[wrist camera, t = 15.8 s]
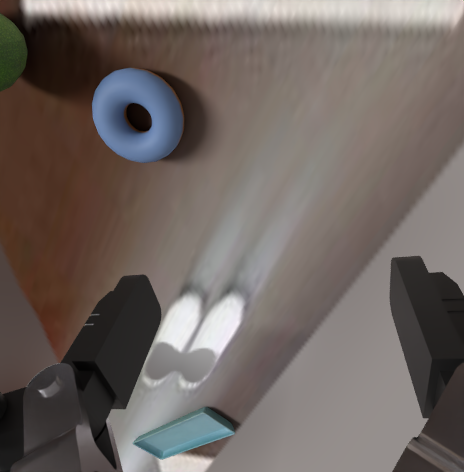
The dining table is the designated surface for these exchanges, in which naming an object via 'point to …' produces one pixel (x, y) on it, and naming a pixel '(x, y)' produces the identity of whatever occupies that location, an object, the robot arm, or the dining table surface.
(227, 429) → the shallow long dish
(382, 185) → the dining table surface
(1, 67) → the avocado
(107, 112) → the doughnut
